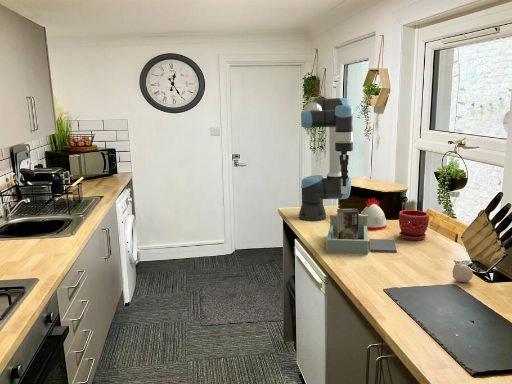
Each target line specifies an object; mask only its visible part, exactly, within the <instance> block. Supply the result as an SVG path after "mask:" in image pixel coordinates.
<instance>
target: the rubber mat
mask: <svg viewBox="0 0 512 384" xmlns="http://www.w3.org/2000/svg"><path fill="white" fill-rule="evenodd" d="M368 239H369V240H368V245H369V252H370V253H393V254H394V253H397V252H398V250H397V246H396V242H395V239H387V238H385V239H384V238H382V239H381V238H380V239H379V238H378V239H377V238H368Z"/></svg>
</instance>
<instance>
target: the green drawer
mask: <svg viewBox="0 0 512 384" xmlns="http://www.w3.org/2000/svg"><path fill="white" fill-rule="evenodd" d="M329 217H330V218H329V227H328V234H327V238H326V254H341V255H363V256H364V255H365V256H367V255H368V254H369V249H368V248H369V240H368V239H369V238H368V237H369V234H368V230H367V218H368V215H361V214H359V240H352V239H338V235H337V213H335V214H334V213H330V214H329Z"/></svg>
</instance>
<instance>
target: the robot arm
mask: <svg viewBox="0 0 512 384" xmlns="http://www.w3.org/2000/svg"><path fill="white" fill-rule="evenodd" d="M300 125H301V127H302V128H303V129H304V128H307V129H310V128H328V129H329V130H328V132H329V133H328V135H329V136H328V137H329V140H328V142H329V146H328V147H329V151H328V152H329V172H328V173H326V177H324V176H323V175H321V174H315V175H314V174H313V175H309V176H305V177H303V178H302V179H301V186H300V187H301V206H300V208H299V213H298V218H299V220H302V221H309V222H316V221H317V222H319V221H323V220H326V219H327V212H326V209H325V205H324V200H345V199H346V200H347V199H348V198H349V197H350V193H351V188H352V178H351V177H349V170H348V166H349V160H350V157H349V154H348V152H353V151H354V142H353V141H354V107H353V105H351V104H350V100H349V99H348V98H346V97H345V98H343V97H335V98H318V99H314V100H312V101H309V102H307V103H306V104H305V106H304V107H303V110H302V111H301V113H300Z"/></svg>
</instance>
